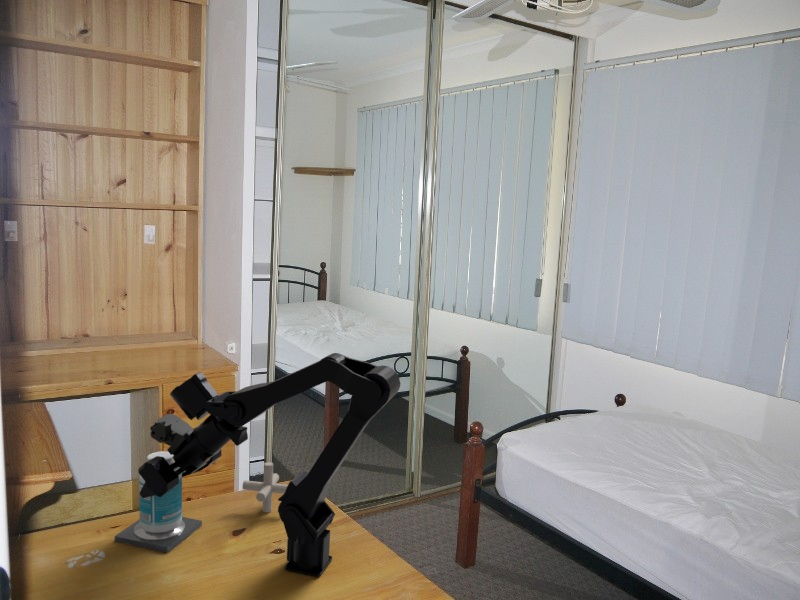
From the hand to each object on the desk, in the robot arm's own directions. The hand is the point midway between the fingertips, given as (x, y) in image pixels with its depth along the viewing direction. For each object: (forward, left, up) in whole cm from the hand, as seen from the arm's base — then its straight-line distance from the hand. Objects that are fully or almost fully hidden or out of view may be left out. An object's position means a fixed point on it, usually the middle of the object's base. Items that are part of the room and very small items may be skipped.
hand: (154, 487), depth 123 cm
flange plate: (-1, 0, -9) cm, 9 cm away
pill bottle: (-1, 0, -7) cm, 7 cm away
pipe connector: (-15, -16, -9) cm, 24 cm away
